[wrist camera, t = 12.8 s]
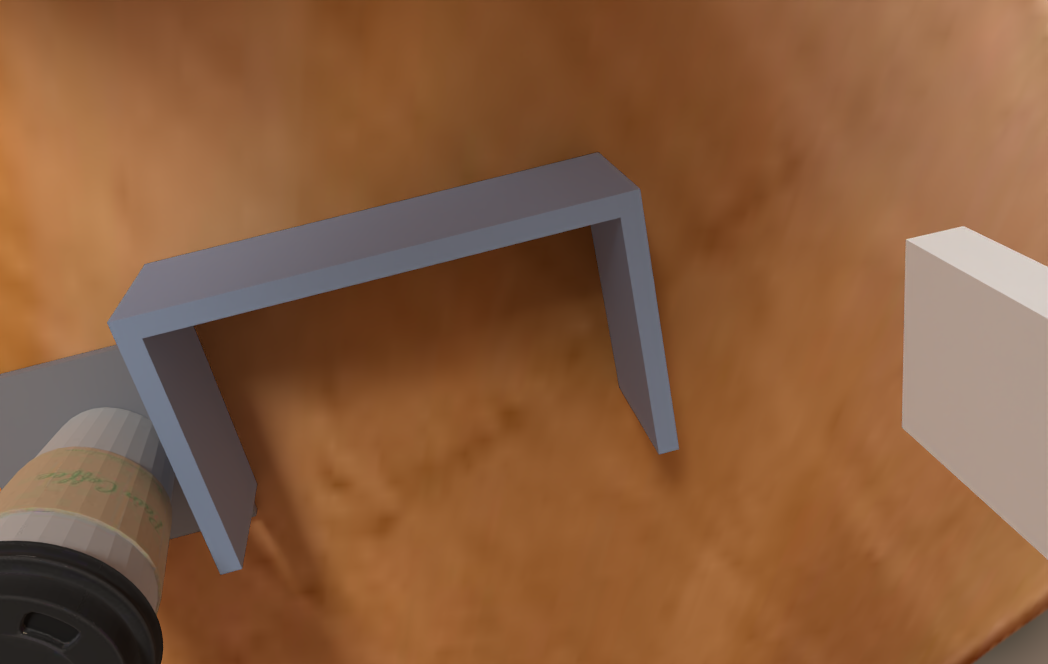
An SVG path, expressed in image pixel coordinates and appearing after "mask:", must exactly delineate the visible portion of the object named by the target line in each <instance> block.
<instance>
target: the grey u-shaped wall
mask: <svg viewBox="0 0 1048 664" xmlns="http://www.w3.org/2000/svg"><path fill="white" fill-rule="evenodd" d="M589 225H591V231H592V236H593V242H594V247H595V253H596V259H597V264H598V270H599V276H600V281H601V287H602V292H603V298H604V304H605V309H606V315H607V321H608V326H609V332H610V337H611V343H612V349H613V354H614V360H615V365H616V371H617V377H618V382H619V388H620V389H621V391H622V393H623V394H624V396H625V398H626V400H627V401H628V403H629V405H630V406H631V408H632V410H633V411H634V413H635V415H636V416H637V418H638V420H639V422H640V423H641V425H642V427H643V428H644V430H645V432H646V433H647V435H648V437H649V439H650V440H651V442H652V444H653V445H654V447H655V449H656V450H657V452H658V454H663V453H667V452H670V451H674V450H678V449H679V445H678V439H677V432H676V425H675V419H674V412H673V405H672V399H671V392H670V385H669V379H668V372H667V365H666V359H665V352H664V345H663V338H662V332H661V325H660V318H659V312H658V305H657V298H656V292H655V285H654V278H653V272H652V265H651V258H650V252H649V245H648V238H647V231H646V225H645V218H644V211H643V205H642V198H641V191H640V188H639V187H637V186H636V185H635V184H634V183H633V182H632V181H631V180H629V179H628V178H627V177H626V176H625V175H624V174H623V173H622V172H620V171H619V170H618V169H617V168H616V167H615V166H614V165H612V164H611V163H610V162H609V161H608V160H607V159H606V158H604V157H603V156H602V155H601V154H600V153H599V152H597V153H593V154H589V155H585V156H581V157H576V158H572V159H568V160H564V161H560V162H556V163H552V164H548V165H544V166H540V167H536V168H532V169H528V170H524V171H520V172H516V173H512V174H508V175H504V176H500V177H496V178H492V179H488V180H483V181H479V182H475V183H471V184H467V185H463V186H459V187H455V188H451V189H447V190H443V191H439V192H435V193H431V194H427V195H423V196H419V197H415V198H411V199H407V200H403V201H399V202H394V203H390V204H386V205H382V206H378V207H374V208H370V209H366V210H362V211H358V212H354V213H350V214H346V215H342V216H338V217H334V218H330V219H326V220H322V221H318V222H314V223H310V224H305V225H301V226H297V227H293V228H289V229H285V230H281V231H277V232H273V233H269V234H265V235H261V236H257V237H253V238H249V239H245V240H241V241H237V242H233V243H229V244H225V245H221V246H217V247H212V248H208V249H204V250H200V251H196V252H192V253H188V254H184V255H180V256H176V257H172V258H168V259H164V260H160V261H156V262H152V263H148V264H145V265H144V266H143V268H142V270H141V271H140V273H139V274H138V276H137V277H136V279H135V280H134V282H133V283H132V285H131V287H130V288H129V290H128V291H127V293H126V294H125V296H124V297H123V299H122V300H121V302H120V304H119V305H118V307H117V308H116V310H115V311H114V313H113V314H112V316H111V318H110V319H109V321H108V322H107V324H108V326H109V328H110V330H111V332H112V335H113V337H114V339H115V341H116V344H117V346H118V348H119V350H120V352H121V355H122V357H123V359H124V361H125V364H126V366H127V368H128V370H129V372H130V375H131V377H132V379H133V381H134V384H135V386H136V388H137V390H138V392H139V395H140V397H141V399H142V401H143V404H144V406H145V408H146V410H147V412H148V415H149V417H150V419H151V421H152V424H153V426H154V428H155V430H156V432H157V435H158V437H159V439H160V441H161V444H162V446H163V448H164V450H165V452H166V455H167V457H168V459H169V461H170V464H171V466H172V468H173V470H174V472H175V475H176V477H177V479H178V481H179V484H180V486H181V488H182V490H183V492H184V495H185V497H186V499H187V501H188V504H189V506H190V508H191V510H192V512H193V515H194V517H195V519H196V521H197V524H198V526H199V528H200V530H201V532H202V535H203V537H204V539H205V541H206V544H207V546H208V548H209V550H210V552H211V555H212V557H213V559H214V561H215V564H216V566H217V568H218V570H219V572H220V575H222V574H225V573H229V572H233V571H236V570H240V569H242V567H243V561H244V556H245V550H246V545H247V539H248V534H249V528H250V522H251V517H252V511H253V506H254V500H255V495H256V489H257V482H256V480H255V477H254V475H253V472H252V470H251V467H250V465H249V462H248V460H247V457H246V455H245V453H244V450H243V448H242V445H241V443H240V440H239V438H238V435H237V433H236V430H235V428H234V425H233V423H232V420H231V418H230V415H229V413H228V410H227V408H226V405H225V403H224V401H223V398H222V396H221V393H220V391H219V388H218V386H217V383H216V381H215V378H214V376H213V373H212V371H211V368H210V366H209V363H208V361H207V358H206V356H205V353H204V351H203V349H202V346H201V344H200V341H199V339H198V336H197V334H196V331H195V329H194V325H198V324H202V323H206V322H210V321H214V320H218V319H221V318H225V317H229V316H233V315H237V314H241V313H245V312H249V311H253V310H257V309H261V308H265V307H269V306H273V305H277V304H281V303H285V302H289V301H293V300H296V299H300V298H304V297H308V296H312V295H316V294H320V293H324V292H328V291H332V290H336V289H340V288H344V287H348V286H352V285H356V284H360V283H364V282H368V281H372V280H375V279H379V278H383V277H387V276H391V275H395V274H399V273H403V272H407V271H411V270H415V269H419V268H423V267H427V266H431V265H435V264H439V263H443V262H447V261H450V260H454V259H458V258H462V257H466V256H470V255H474V254H478V253H482V252H486V251H490V250H494V249H498V248H502V247H506V246H510V245H514V244H518V243H522V242H526V241H529V240H533V239H537V238H541V237H545V236H549V235H553V234H557V233H561V232H565V231H569V230H573V229H577V228H581V227H585V226H589Z"/></svg>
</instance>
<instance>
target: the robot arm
mask: <svg viewBox="0 0 1048 664" xmlns="http://www.w3.org/2000/svg"><path fill="white" fill-rule="evenodd" d="M902 428H903V429H904V430H905V431H906V432H908V433H909V434H910V435H911V436H912V437H913V438H914V439H915V440H916V441H917V442H919V443H920V444H921V445H922V446H923V447H924V448H925V449H926V450H927V451H928V452H930V453H931V454H932V455H933V456H934V457H935V458H936V459H937V460H938V461H940V462H941V463H942V464H943V465H944V466H945V467H946V468H947V469H948V470H949V471H951V472H952V473H953V474H954V475H955V476H956V477H957V478H958V479H959V480H961V481H962V482H963V483H964V484H965V485H966V486H967V487H968V488H969V489H970V490H972V491H973V492H974V493H975V494H976V495H977V496H978V497H979V498H980V499H982V500H983V501H984V502H985V503H986V504H987V505H988V506H989V507H990V508H991V509H993V510H994V511H995V512H996V513H997V514H998V515H999V516H1000V517H1001V518H1003V519H1004V520H1005V521H1006V522H1007V523H1008V524H1009V525H1010V526H1011V527H1012V528H1014V529H1015V530H1016V531H1017V532H1018V533H1019V534H1020V535H1021V536H1022V537H1024V538H1025V539H1026V540H1027V541H1028V542H1029V543H1030V544H1031V545H1032V546H1033V547H1035V548H1036V549H1037V550H1038V551H1039V552H1040V553H1041V554H1042V555H1043V556H1044V557H1046V558H1047V559H1048V267H1047V266H1045V265H1043V264H1041V263H1039V262H1037V261H1035V260H1033V259H1030V258H1028V257H1026V256H1024V255H1022V254H1020V253H1018V252H1016V251H1014V250H1012V249H1010V248H1008V247H1006V246H1004V245H1002V244H999V243H997V242H995V241H993V240H991V239H989V238H987V237H985V236H983V235H981V234H979V233H977V232H975V231H973V230H971V229H968V228H966V227H964V226H962V227H958V228H953V229H949V230H945V231H940V232H936V233H932V234H927V235H923V236H919V237H914V238H910V239H906V256H905V305H904V353H903V401H902Z"/></svg>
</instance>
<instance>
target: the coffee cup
mask: <svg viewBox="0 0 1048 664" xmlns="http://www.w3.org/2000/svg"><path fill="white" fill-rule="evenodd" d="M174 477H175V472H174V470H173V468H172V466H171V464H170V461H169V459H168V457H167V455H166V452H165V450H164V448H163V446H162V444H161V441H160V439H159V437H158V435H157V432H156V430H155V428H154V426H153V424H152V421H151V420H149V419H147V418H145V417H144V416H142V415H139V414H137V413H134V412H132V411H128V410H124V409H120V408H110V407H102V408H93V409H90V410H87V411H84V412H81V413H80V414H78V415H76V416H75V417H73V418H71V419H70V420H69V421H68V422H67V423H66V424H65V425H64V426H62V428H61V429H60V430H59V431H58V432H57V433H56V434H55V435H54V437H53V438H52V439H51V440H50V441H49V442H48V443H47V445H46V446H45V447H44V448H43V449H42V450H41V451H40V452H39V454H38V455H37V456H36V457H35V458H34V459H32V460H31V461H29V462H28V463H27V464H26V465H25V466H24V467H23V468H21V469H20V470H19V471H18V472H17V473H16V474H15V476H14V477H13V478H12V479H11V480H10V481H9V482H8V483H7V485H6V486H5V487H4V488H3V489H2V490H1V491H0V664H161V661H162V655H163V638H162V631H161V627H160V624H159V621H158V618H157V616H156V615H157V612H158V609H159V605H160V602H161V597H162V590H163V582H164V575H165V568H166V561H167V553H168V546H169V539H170V532H171V524H172V506H171V500H172V492H173V485H174Z"/></svg>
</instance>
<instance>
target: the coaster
mask: <svg viewBox="0 0 1048 664" xmlns="http://www.w3.org/2000/svg"><path fill="white" fill-rule="evenodd" d="M102 407H110V408H120V409H124V410H128V411H132V412H134V413H137V414H139V415H142V416H144V417H145V418H147V419H149V420H151V419H150V417H149V415H148V412H147V410H146V408H145V406H144V404H143V401H142V399H141V397H140V395H139V392H138V390H137V388H136V386H135V384H134V381H133V379H132V377H131V375H130V372H129V370H128V368H127V366H126V364H125V361H124V359H123V357H122V355H121V352H120V350H119V348H118V346H117V345H114V346H110V347H106V348H102V349H98V350H94V351H90V352H86V353H82V354H78V355H74V356H70V357H66V358H62V359H58V360H54V361H50V362H46V363H42V364H39V365H35V366H31V367H27V368H23V369H19V370H15V371H11V372H7V373H3V374H0V488H1V490H2V489H3V488H4V487H5V486H6V485H7V483H8V482H9V481H10V480H11V479H12V478H13V477H14V476H15V474H16V473H17V472H18V471H19V470H20V469H21V468H23V467H24V466H25V465H26V464H27V463H28V462H29V461H31V460H32V459H34V458H35V457H36V456H37V455H38V454H39V452H40V451H41V450H42V449H43V448H44V447H45V446H46V445H47V443H48V442H49V441H50V440H51V439H52V438H53V437H54V435H55V434H56V433H57V432H58V431H59V430H60V429H61V428H62V426H64V425H65V424H66V423H67V422H68V421H69V420H70V419H71V418H73V417H75V416H76V415H78V414H80V413H81V412H84V411H87V410H90V409H93V408H102ZM171 506H172V524H171V532H170V539H173V538H177V537H180V536H184V535H188V534H191V533H195V532H199V531H201V530H200V528H199V526H198V524H197V521H196V519H195V517H194V515H193V512H192V510H191V508H190V506H189V504H188V501H187V499H186V497H185V495H184V492H183V490H182V488H181V486H180V484H179V481H178V479H177V477H176V475H175V477H174V485H173V492H172V500H171ZM256 514H257V508H256V505H255V503H254V506H253V511H252V517H254V516H256Z"/></svg>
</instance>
